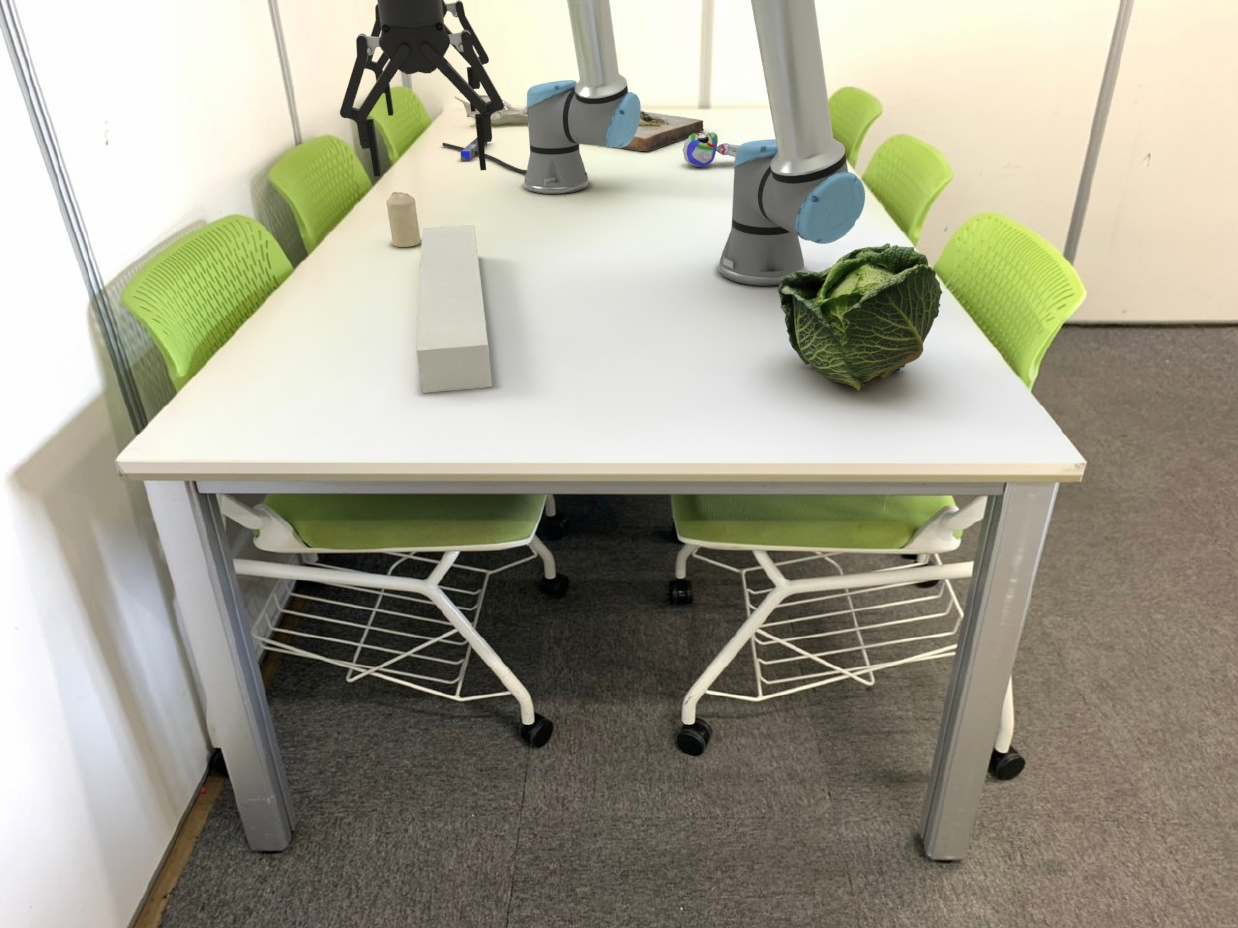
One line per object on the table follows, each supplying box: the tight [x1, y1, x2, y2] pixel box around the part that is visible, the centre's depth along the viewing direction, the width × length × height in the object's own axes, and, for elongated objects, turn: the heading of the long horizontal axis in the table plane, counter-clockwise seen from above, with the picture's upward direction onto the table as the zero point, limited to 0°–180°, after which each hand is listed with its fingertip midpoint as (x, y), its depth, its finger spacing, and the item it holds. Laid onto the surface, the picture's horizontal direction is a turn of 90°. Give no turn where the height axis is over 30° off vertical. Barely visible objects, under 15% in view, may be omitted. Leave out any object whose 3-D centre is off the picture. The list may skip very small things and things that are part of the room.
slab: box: [416, 224, 493, 394], centre depth 147 cm, size 55×10×7 cm, turn 10°
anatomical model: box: [454, 91, 528, 126], centre depth 274 cm, size 15×9×25 cm
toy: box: [682, 131, 741, 168], centre depth 228 cm, size 10×8×30 cm
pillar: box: [460, 137, 489, 162], centre depth 244 cm, size 2×2×20 cm
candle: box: [385, 191, 421, 248], centre depth 178 cm, size 6×6×10 cm
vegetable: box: [777, 242, 943, 392], centre depth 124 cm, size 20×19×20 cm
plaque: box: [621, 109, 705, 152], centre depth 257 cm, size 30×7×30 cm
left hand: (432, 112), depth 150 cm, fingers open, 13 cm apart
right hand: (430, 171), depth 117 cm, fingers open, 13 cm apart
